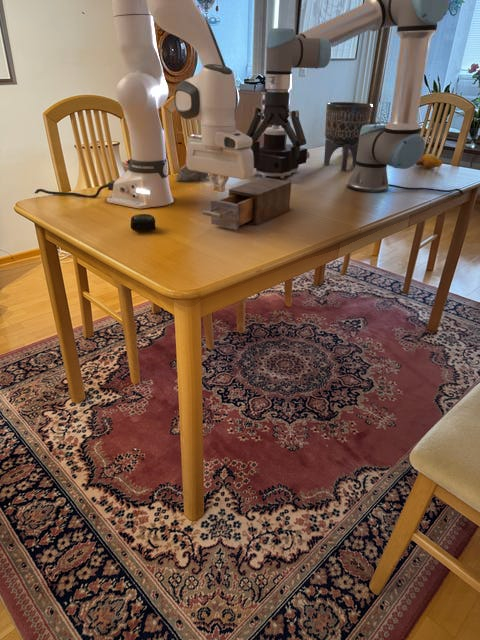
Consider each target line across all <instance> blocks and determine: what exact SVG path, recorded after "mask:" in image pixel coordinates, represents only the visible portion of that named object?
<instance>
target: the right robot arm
mask: <svg viewBox="0 0 480 640" xmlns="http://www.w3.org/2000/svg"><path fill="white" fill-rule="evenodd" d="M450 1H451V0H364V2H363V4H360V5H359V6H357V7H354V8H352V9H350V10H347V11H345V12H343V13H341V14H339V15H337V16H334V17H333V18H330V19H328V20H326V21H324V22H322V23H319V24H317V25H314V26H313V27H310V28H309V29H307V30H304V31H302V32H300V33H298V34H296V33H295V32H296V31H295V29H294V28H287V27H286V28H285V27H274V28H270V29H269V30H268V33H267V39H266V46H265V48H266V57H265V58H266V60H265V61H266V62H265V83H264V84H265V85H264V88H265V90H266V91H265V92H264V108H263V107H261V106H259V107H256V108H255V111H254V116H253V118H252V121H251V123H250V126H249V128H248V130H247V133H246V135H247V136H249V137H251V138H252V146H250V148H251V150H252V152H253V158H254V164H256V163H259V150H260V147H261V142H260V141H259V140H260V138H261V136H262V135H264V131H265V130H266V128H269V126H272V125H276V126H279V127H280V128H283V129H284V130H285V132H286V134H287V138H288V139H289V140H290V142H291V145H293V147H291V155H290V169H289V170H293V169H296V160H297V158H299V153H300V148H301V147H302V146H305V145H307V139H306V137H305V133H304V130H303V126H302V124H301V121H300V111H299V110H298V109H296V110H290V105H291V92H290V91H291V90H292V76H293V75H292V74H293V69H297V68H298V69H316V70H317V69H324V68H326V67H328V65H329V64H330V62H331V59H332V53H333V48H335V47H336V46H338V45H340V44H342V43H345V42H347V41H350V40H351V39H354V38H356V37H358V36H360V35H362V34H364V33H366V32H368V31H371V32H377V31H379V30H382V29H384V28H391V27H396V34H397V36H398V37H399V38H400V43H399V50H398V59H397V66H396V75H395V82H394V89H393V96H392V97H393V98H392V105H391V112H390V120H389V121H388V123H386V124H384V123H383V124H382V123H381V124H369V125H364V126H363V127H362V128H361V131H360V135H359V143H358V150H357V158H356V165H355V166H354V167H353V171H351V174H350V176H349V179H348V180H347V181H348V182H347V187H348V188H349V189H351V190H354V191H358V192H363V193H364V192H365V193H382V192H386V191H388V189H389V187H391V188H398V189H402V190H409V191H410V190H412V191H414V190H415V191H416V190H417V191H419V190H421V191H422V190H423V191H432V192H439V193H452V192H455V191H456V192H460V194H464V191H463V190H462V189H461V188H453V189H439V188H438V189H437V188H430V187H407V186H401V185H396V184H389V178H388V173H387V172H388V171H387V166H389V167H392V168H394V169H401V170H407V169H410V168H412V167H413V166H415V165H416V162H417V161H419V160H420V158H421V156H423V154H424V151H425V148H426V141H425V140H424V137H423V136H421V134H420V133H421V125H420V124H419V122H418V116H419V110H420V103H421V98H422V97H421V96H422V92H423V91H422V90H423V85H424V84H423V83H424V77H425V71H426V65H427V60H428V59H427V58H428V53H429V47H430V40H431V37H433V35H435V33H436V32H437V29H438V24H439V23H440V22H441V21H443V19H444V18H445V16H446V15H447V13H448V11H449V8H450ZM263 116H264V117H265V118H264V119H263V120H262V118H263ZM289 118H290V119H291V122H290V120H289ZM261 120H262V122H261ZM260 122H261V124H260ZM291 123H292V126H291ZM259 124H260V125H259Z"/></svg>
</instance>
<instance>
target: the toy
mask: <svg viewBox="0 0 480 640" xmlns="http://www.w3.org/2000/svg"><path fill="white" fill-rule="evenodd" d="M415 165H416V166H421V167H425V168H426V169H428V170H430V169H435V168H438V167H441V166H442V165H443V161H442V160H440V159H438V157H437V156H436V155H434V154H430V153H428V154H425V155H422V156H421V158H420V160H419V161H417V162H416V164H415Z"/></svg>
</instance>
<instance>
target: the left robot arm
mask: <svg viewBox="0 0 480 640" xmlns="http://www.w3.org/2000/svg"><path fill="white" fill-rule="evenodd" d="M111 6H112V7H111V8H112V16H113V22H114V29H115V35H116V40H117V48H118V51H119V53H120V55H121V56H122V58H123V61H124V64H125V68H126V70H127V73H128V74H125V76H123V77H122V78H121V79H120V80H119V81H118V83H117V85H116V89H115V96H116V97H115V98H116V100H117V102H118V104H119V106H120V107H121V109H122V113H123V116H124V120H125V122H126V126H127V130H128V136H129V143H130V153H131V158H129V159H128V160H126V161H125V164H124V165H125V166H128V168H127V170H126V171H125V172H124V173H123V174H122V175H120V176H119V177H118V178H117V179H116V180H111V181H109V182H107V184H103V185H101V186H100V187H98V189H97V191H96V193H95V194H92V195H88V194H83V193H78V192H69V191H50V190H46V189H43V188H38V189H36V190H35V191H34V194H38V193H40V192H41V193H44V194H46V195H59V196H75V197H81V198H90V199H91V198H92V199H94V198H98V196H99V194H100V192H101V191H102V190H104V189H107V190H108V191H112V194H110V195H108V196H107V198H106V202H107V203H109V204H114V205H119V206H124V207H129V208H134V209H142V210H143V209H148V208H156V207H164V206H167V205H170V204H172V203H174V200H175V199H174V198H173V194H172V192H171V187H170V182H169V181H170V180H169V162H168V158H167V150H166V149H167V148H166V135H165V130H164V129H163V126H162V122H161V119H160V115H159V109H160V108H162V107H163V106H164V104H165V103H166V101H167V99H168V98H169V86H168V82H167V81H166V78H165V73H164V69H163V65H162V62H161V58H160V56H159V51H158V45H157V38H156V37H157V36H156V29H155V24H156V25H157V26H158V27H159V28H160V29H162V30H163V31H164V32H166V33H168V34H171V35H172V36H175V37H177V38H179V39H181V40H183V41H185V43H187V44H188V45H190V46H191V47H192V48H193V50H194V51H195V52H196V54H197V56H198V58H199V61H200V64H201V66H202V67H201V68H200V71H199V72H197V73H196V74H195V75H193V76H191V77H189V78H186V79H183V80H181V81H180V82H178V84H177V86H176V87H175V90H174V94H173V95H174V96H173V101H174V106H175V109H176V112H177V114H179V115H180V117H182V118H183V119H184V120H190V121H199V120H201V121H200V122H201V123H200V127H201V128H200V134H196V133H191V135H189V136H188V137H187V140H186V142H187V147H186V155H185V156H186V157H185V164H186V166H187V168H188V169H189V170H193V171H199V172H205V173H208V175H209V177H208V178H209V181H210V183H211V185H212V191H213V192H218V193H224V192H225V191H226V184H227V182H228V181H229V178H233V179H239V180H248V179H251V178H252V176H253V175H254V171H255V170H254V169H255V168H254V158H253V152H252V150H251V146H252V138H251V137H249V136H247V134H245V133H244V132H242V131H240V130H239V129H236V128H237V122H236V117H235V113H236V111H237V109H238V106H239V103H240V94H239V90H238V87H237V86H236V79H235V75H234V71H233V69H232V68H230V67H228V66H227V65H226V62H225V60H224V57H223V55H222V52H221V50H220V47H219V44H218V42H217V40H216V37H215V34H214V31H213V29H212V27H211V24H210V22H209V21H208V19H207V18H206V16H205V15H204V14H203V13H202V11H201V10H200V9H199V7H198V5H197V3H196V1H195V0H111ZM217 177H219V180H220V183H219V180H218V178H217Z"/></svg>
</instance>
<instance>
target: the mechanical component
mask: <svg viewBox="0 0 480 640" xmlns="http://www.w3.org/2000/svg"><path fill="white" fill-rule="evenodd" d="M287 138H288V135H287V134H286V132H285V130H284V129H283V128H282V127H280V126H276V125H271V127H269V126H268V127H267V128H266V130H265V131H264V132H263V145H262V146H261V145H260V150H259V163H256V164H254V169H255V173H256V174H257V175H261V178H264V177H266V178H267V177H279V178H280V179H285V176H291V175H292V173H298V171H299V167H300V165H303V164H304V165H305V164H307V160H309V158H310V156H311V154H310V152H309V151H308V148H304V147H300V153H299V158H297V160H296V169H293V170H289V169H290V155H291V147H293V144H292V143H291V144H290V143H287Z"/></svg>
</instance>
